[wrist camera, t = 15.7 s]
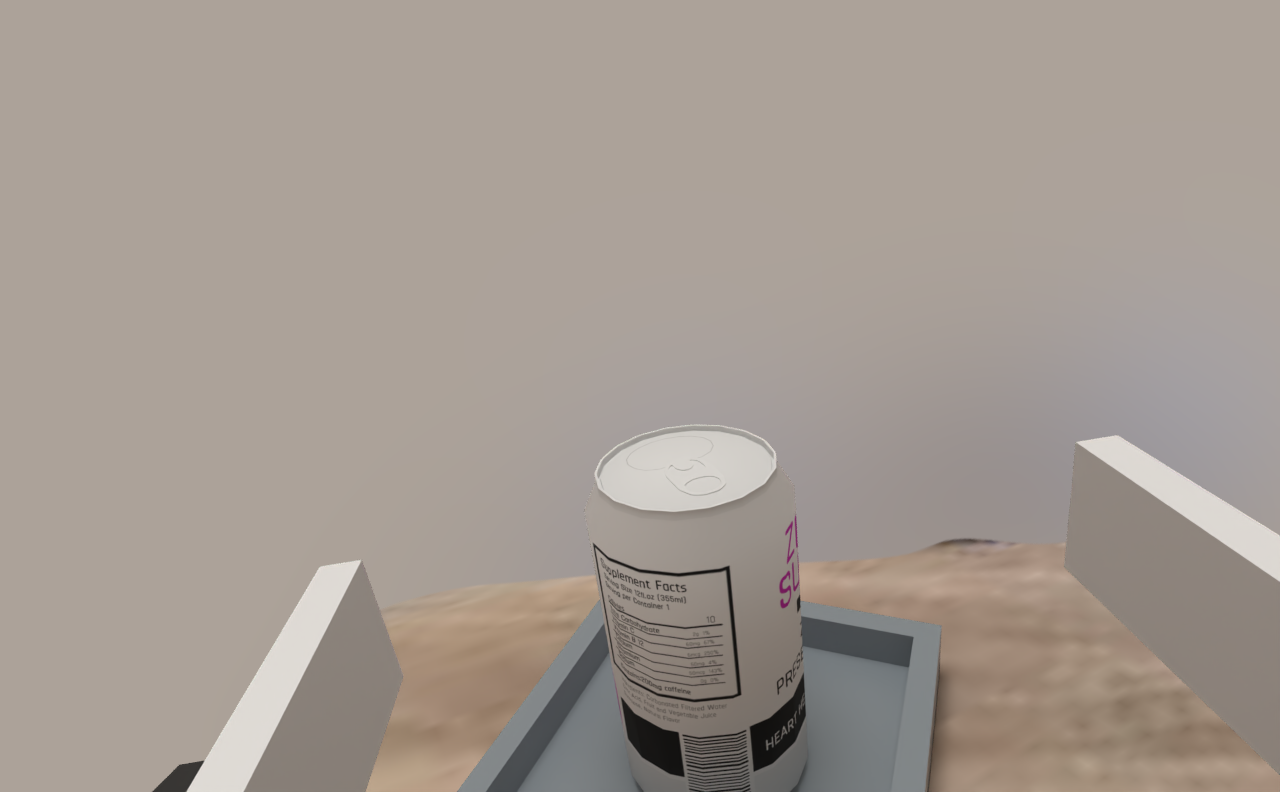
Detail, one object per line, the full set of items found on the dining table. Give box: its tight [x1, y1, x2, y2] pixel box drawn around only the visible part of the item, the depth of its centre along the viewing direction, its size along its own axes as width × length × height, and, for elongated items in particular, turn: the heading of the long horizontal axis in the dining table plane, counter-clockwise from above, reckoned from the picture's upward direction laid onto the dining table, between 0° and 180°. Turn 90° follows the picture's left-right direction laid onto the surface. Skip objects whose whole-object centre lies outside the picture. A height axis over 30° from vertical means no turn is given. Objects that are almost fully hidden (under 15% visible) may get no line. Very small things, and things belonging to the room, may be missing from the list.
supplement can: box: [584, 425, 808, 792], centre depth 30 cm, size 8×8×15 cm
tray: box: [457, 600, 941, 792], centre depth 33 cm, size 18×18×3 cm
